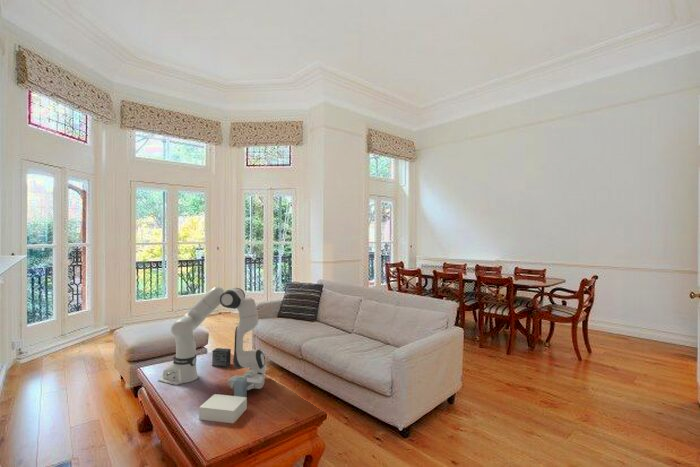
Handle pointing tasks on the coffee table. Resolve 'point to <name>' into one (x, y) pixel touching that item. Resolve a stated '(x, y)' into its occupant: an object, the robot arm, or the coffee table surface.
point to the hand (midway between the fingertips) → (239, 388)
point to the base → (223, 408)
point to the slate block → (240, 387)
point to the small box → (221, 357)
